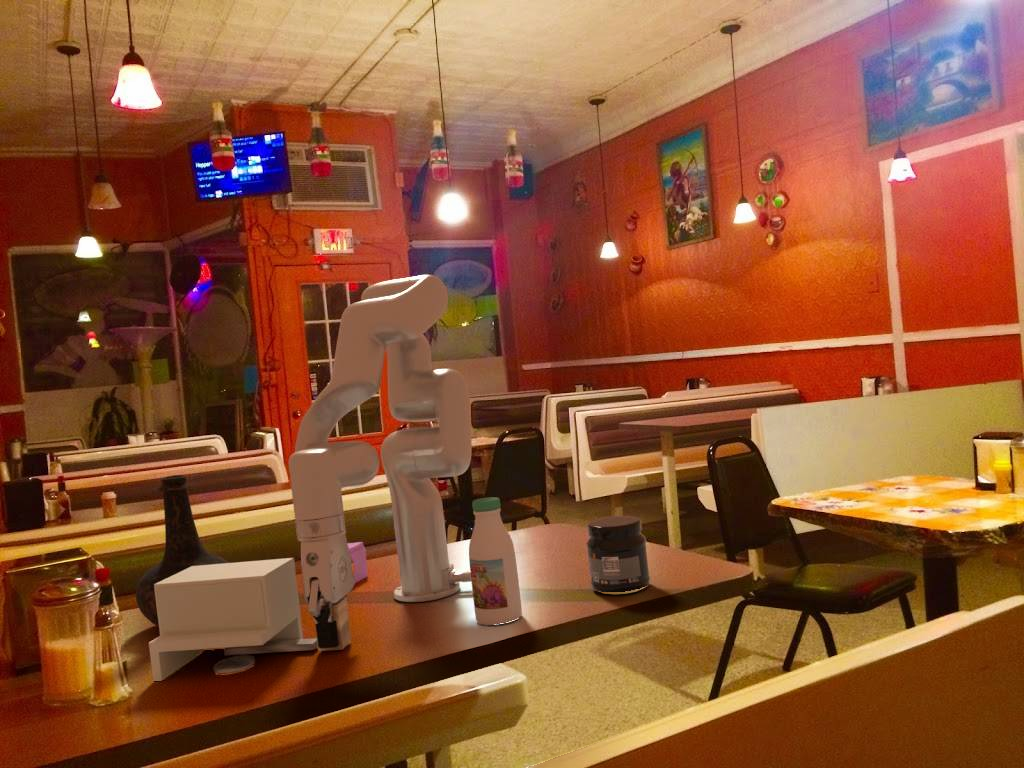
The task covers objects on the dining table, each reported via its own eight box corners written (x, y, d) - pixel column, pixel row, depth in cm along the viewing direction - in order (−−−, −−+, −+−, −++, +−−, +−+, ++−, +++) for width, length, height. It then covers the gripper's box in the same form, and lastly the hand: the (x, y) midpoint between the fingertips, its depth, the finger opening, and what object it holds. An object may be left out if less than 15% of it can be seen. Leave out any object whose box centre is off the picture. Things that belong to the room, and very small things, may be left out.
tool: (351, 640, 128) (346, 597, 128) (342, 649, 124) (337, 604, 124) (234, 648, 131) (229, 605, 131) (222, 657, 127) (217, 613, 127)
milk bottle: (500, 609, 138) (487, 494, 137) (532, 615, 132) (518, 495, 132) (466, 622, 132) (452, 502, 132) (498, 629, 127) (484, 504, 127)
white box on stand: (303, 641, 132) (293, 557, 132) (266, 675, 118) (254, 581, 118) (201, 648, 134) (192, 566, 134) (153, 682, 121) (142, 590, 120)
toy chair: (353, 585, 166) (344, 514, 166) (316, 586, 169) (308, 516, 169) (372, 574, 174) (364, 506, 174) (336, 575, 177) (328, 508, 177)
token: (262, 661, 125) (261, 654, 125) (244, 676, 120) (243, 668, 120) (226, 663, 126) (225, 656, 126) (206, 678, 120) (205, 671, 120)
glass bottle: (229, 602, 164) (212, 466, 164) (251, 619, 149) (234, 470, 149) (134, 625, 155) (116, 481, 154) (148, 646, 139) (128, 486, 139)
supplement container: (635, 576, 149) (628, 512, 149) (661, 589, 139) (653, 521, 139) (582, 586, 146) (575, 521, 146) (604, 600, 136) (597, 530, 136)
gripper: (323, 536, 118) (338, 660, 118) (360, 514, 134) (373, 622, 134) (275, 541, 119) (290, 663, 119) (318, 518, 135) (331, 625, 135)
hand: (334, 640), depth 127 cm, fingers closed on tool, 4 cm apart
